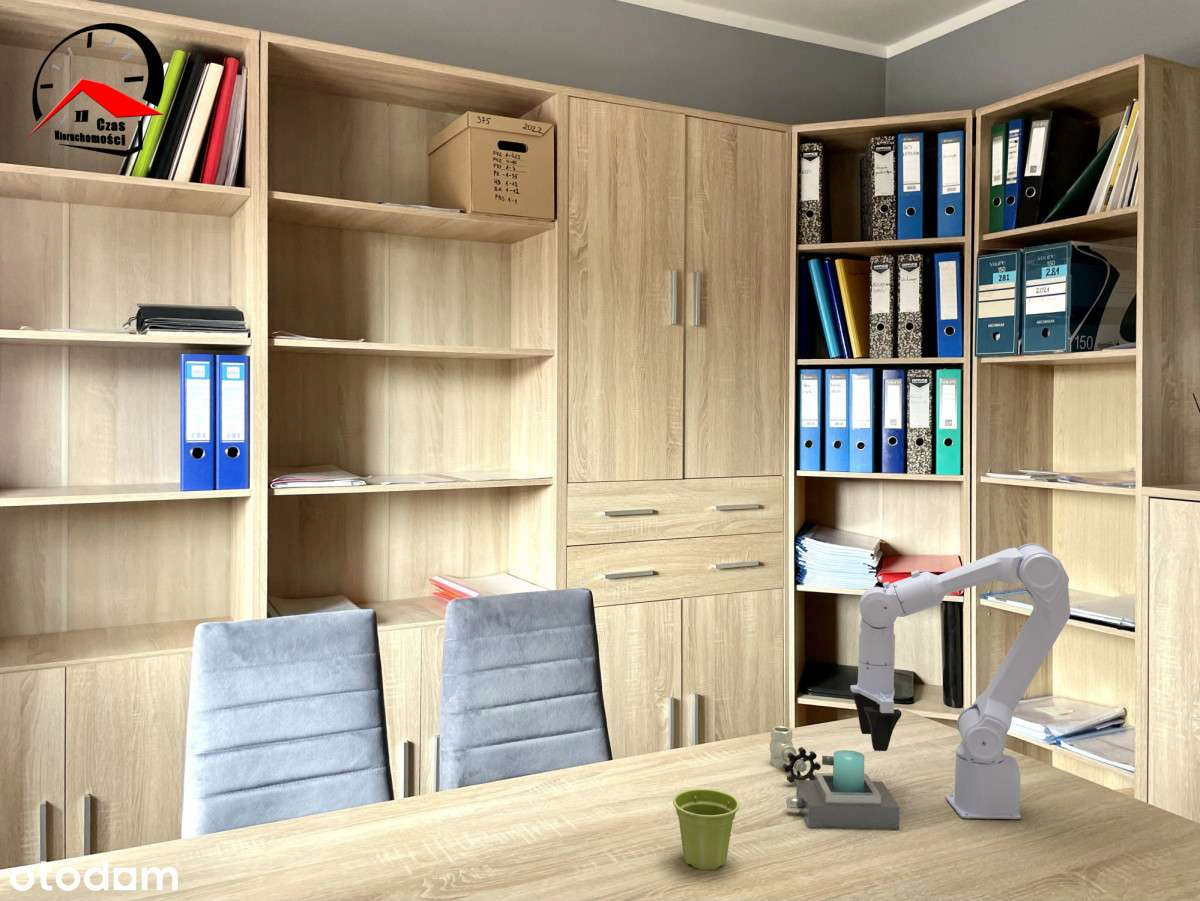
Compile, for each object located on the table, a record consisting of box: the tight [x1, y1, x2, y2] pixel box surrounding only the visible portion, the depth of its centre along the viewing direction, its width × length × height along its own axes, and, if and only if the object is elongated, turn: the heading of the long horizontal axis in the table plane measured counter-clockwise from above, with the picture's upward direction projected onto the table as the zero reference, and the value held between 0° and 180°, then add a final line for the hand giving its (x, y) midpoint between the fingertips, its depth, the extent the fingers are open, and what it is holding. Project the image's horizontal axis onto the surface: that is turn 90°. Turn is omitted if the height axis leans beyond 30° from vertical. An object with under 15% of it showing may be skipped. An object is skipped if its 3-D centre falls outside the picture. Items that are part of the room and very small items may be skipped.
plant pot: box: [672, 788, 740, 871], centre depth 140 cm, size 9×9×9 cm
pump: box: [821, 749, 865, 793], centre depth 156 cm, size 6×5×6 cm
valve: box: [769, 725, 822, 784], centre depth 173 cm, size 7×7×12 cm
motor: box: [785, 772, 901, 830], centre depth 156 cm, size 16×10×5 cm, turn 89°
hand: (873, 741), depth 162 cm, fingers open, 7 cm apart
